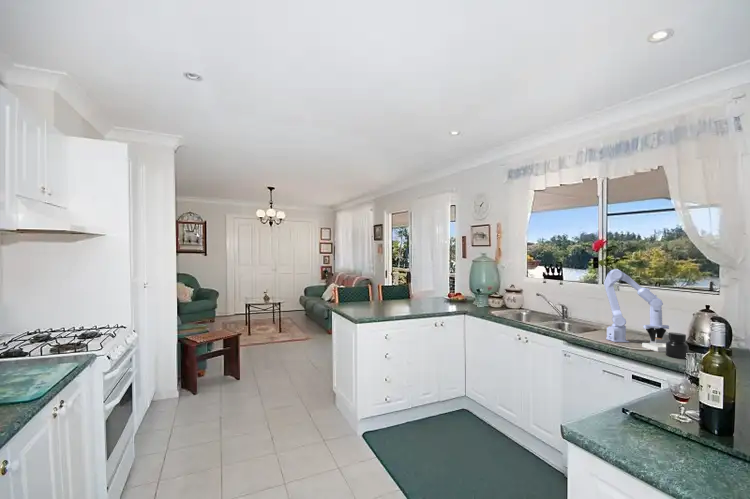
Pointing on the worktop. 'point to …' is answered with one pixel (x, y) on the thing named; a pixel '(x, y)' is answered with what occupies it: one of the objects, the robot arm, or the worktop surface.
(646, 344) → the socket plate
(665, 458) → the worktop surface
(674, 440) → the worktop surface
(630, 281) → the robot arm
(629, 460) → the worktop surface
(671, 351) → the ink bottle
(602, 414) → the worktop surface
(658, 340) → the plug
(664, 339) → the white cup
